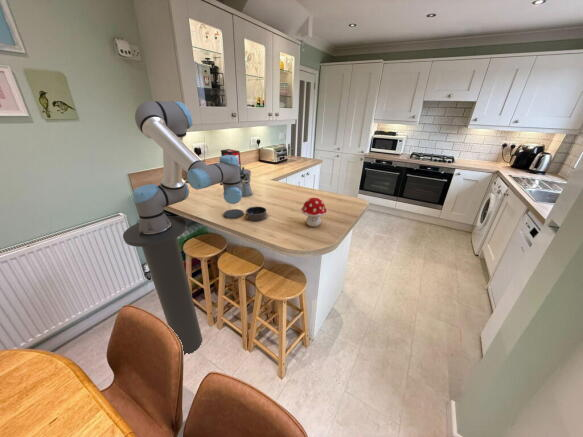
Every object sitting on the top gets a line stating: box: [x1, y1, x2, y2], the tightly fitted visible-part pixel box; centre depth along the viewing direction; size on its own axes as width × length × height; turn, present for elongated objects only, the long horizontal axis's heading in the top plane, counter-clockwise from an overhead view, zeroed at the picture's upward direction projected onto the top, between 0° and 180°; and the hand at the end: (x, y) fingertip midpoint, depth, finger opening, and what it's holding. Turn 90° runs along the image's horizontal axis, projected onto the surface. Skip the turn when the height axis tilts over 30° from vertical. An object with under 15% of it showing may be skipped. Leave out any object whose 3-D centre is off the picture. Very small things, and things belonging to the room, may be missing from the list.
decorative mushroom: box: [300, 197, 328, 228], centre depth 123 cm, size 14×14×15 cm
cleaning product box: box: [220, 148, 242, 166], centre depth 219 cm, size 16×9×20 cm, turn 48°
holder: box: [245, 206, 268, 222], centre depth 133 cm, size 12×12×4 cm
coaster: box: [223, 208, 244, 220], centre depth 136 cm, size 11×11×1 cm
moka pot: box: [241, 166, 253, 198], centre depth 163 cm, size 10×15×20 cm, turn 16°
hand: (234, 173), depth 130 cm, fingers closed on can, 8 cm apart
